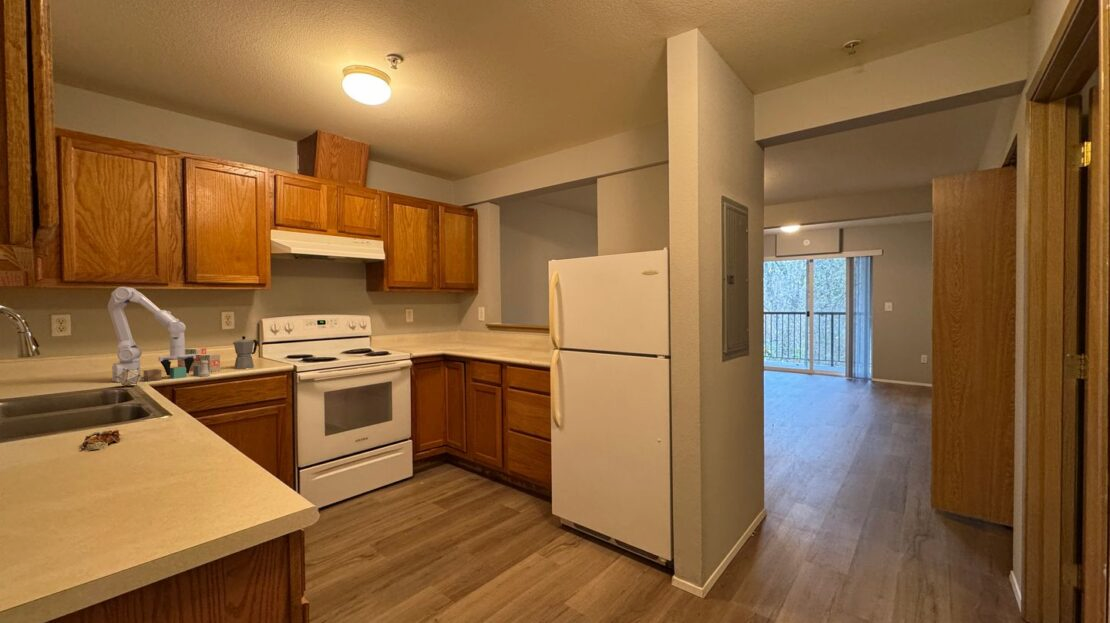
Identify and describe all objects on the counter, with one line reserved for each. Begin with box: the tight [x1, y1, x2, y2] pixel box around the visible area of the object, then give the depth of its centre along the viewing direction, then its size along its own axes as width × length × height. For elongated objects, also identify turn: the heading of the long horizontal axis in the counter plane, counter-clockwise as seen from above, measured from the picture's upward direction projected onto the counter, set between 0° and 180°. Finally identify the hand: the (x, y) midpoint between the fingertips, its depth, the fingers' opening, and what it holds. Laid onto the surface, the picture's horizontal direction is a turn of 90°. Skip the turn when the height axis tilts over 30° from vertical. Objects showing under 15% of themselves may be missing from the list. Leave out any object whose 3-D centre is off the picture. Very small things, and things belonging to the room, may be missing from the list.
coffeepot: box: [232, 335, 259, 370], centre depth 263 cm, size 15×9×18 cm, turn 165°
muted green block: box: [169, 366, 187, 380], centre depth 229 cm, size 5×5×5 cm
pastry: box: [80, 429, 123, 453], centre depth 118 cm, size 7×12×4 cm, turn 39°
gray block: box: [192, 365, 211, 377], centre depth 238 cm, size 5×5×5 cm
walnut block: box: [142, 368, 162, 383], centre depth 220 cm, size 5×5×5 cm
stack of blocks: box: [177, 347, 221, 373], centre depth 252 cm, size 21×6×12 cm, turn 77°
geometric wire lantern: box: [116, 368, 144, 386], centre depth 204 cm, size 9×8×10 cm
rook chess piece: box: [199, 360, 211, 378], centre depth 232 cm, size 4×4×8 cm
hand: (177, 374), depth 229 cm, fingers open, 7 cm apart
